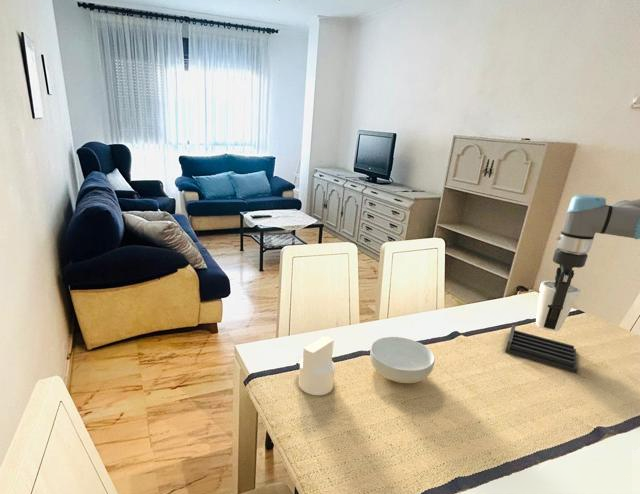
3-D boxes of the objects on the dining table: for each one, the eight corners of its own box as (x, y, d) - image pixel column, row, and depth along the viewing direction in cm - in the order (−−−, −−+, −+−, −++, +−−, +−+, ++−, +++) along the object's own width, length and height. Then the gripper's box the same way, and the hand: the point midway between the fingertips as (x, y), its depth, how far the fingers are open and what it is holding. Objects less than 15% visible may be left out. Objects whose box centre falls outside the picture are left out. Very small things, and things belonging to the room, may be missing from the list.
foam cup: (534, 316, 123) (546, 278, 118) (569, 326, 117) (582, 287, 112) (526, 325, 116) (538, 285, 112) (562, 337, 110) (576, 295, 106)
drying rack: (574, 352, 120) (578, 341, 119) (576, 373, 110) (580, 361, 108) (509, 334, 130) (512, 324, 129) (505, 352, 119) (508, 341, 118)
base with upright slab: (319, 400, 94) (322, 358, 90) (291, 384, 100) (293, 343, 96) (339, 384, 101) (344, 344, 96) (312, 369, 106) (315, 331, 102)
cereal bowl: (381, 350, 117) (384, 330, 115) (437, 370, 108) (442, 348, 106) (357, 377, 104) (360, 354, 101) (419, 402, 95) (424, 378, 93)
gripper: (556, 240, 119) (536, 306, 127) (555, 257, 102) (533, 331, 109) (586, 245, 115) (564, 312, 123) (591, 263, 98) (564, 340, 106)
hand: (549, 321), depth 116 cm, fingers closed on foam cup, 9 cm apart
